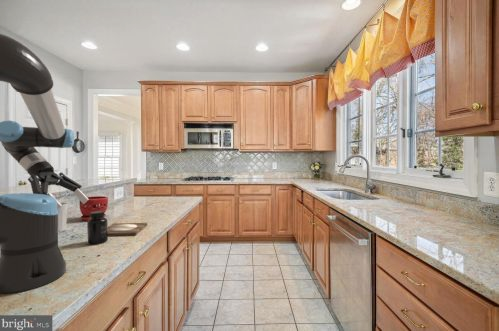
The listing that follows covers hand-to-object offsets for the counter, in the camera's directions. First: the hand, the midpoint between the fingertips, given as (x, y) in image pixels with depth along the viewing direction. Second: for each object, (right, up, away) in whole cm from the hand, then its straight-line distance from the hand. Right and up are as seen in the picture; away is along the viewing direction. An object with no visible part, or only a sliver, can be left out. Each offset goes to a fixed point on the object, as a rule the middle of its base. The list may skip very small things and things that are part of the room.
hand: (73, 204), depth 95 cm
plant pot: (-15, -14, +36) cm, 41 cm away
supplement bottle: (+10, -15, -1) cm, 18 cm away
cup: (-19, -14, +15) cm, 28 cm away
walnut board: (+12, -14, +15) cm, 24 cm away
